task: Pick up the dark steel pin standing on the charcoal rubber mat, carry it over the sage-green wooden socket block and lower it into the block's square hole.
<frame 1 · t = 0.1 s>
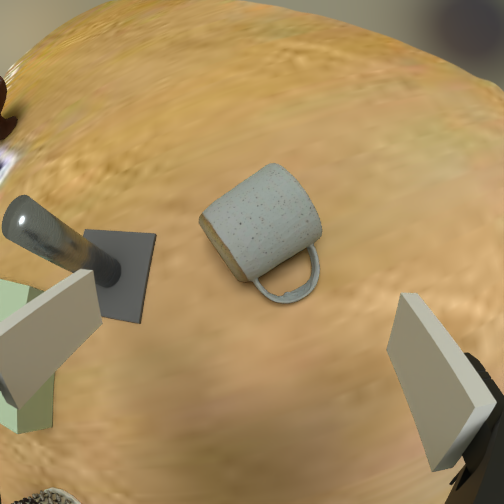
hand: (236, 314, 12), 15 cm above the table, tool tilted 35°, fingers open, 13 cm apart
ice cream bowl: (7, 129, 40), on the table
mat: (109, 273, 30), on the table
ceramic mug: (271, 250, 29), on the table
pin: (108, 272, 29), resting on mat
socket block: (13, 348, 27), on the table
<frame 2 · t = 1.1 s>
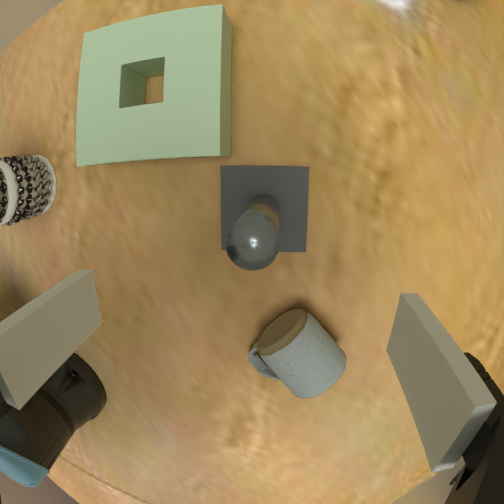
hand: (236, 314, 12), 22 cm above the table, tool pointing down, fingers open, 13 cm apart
mat: (264, 208, 33), on the table
ceramic mug: (291, 341, 37), on the table
pin: (264, 209, 32), resting on mat
socket block: (163, 93, 30), on the table
decorative candle: (37, 184, 34), on the table
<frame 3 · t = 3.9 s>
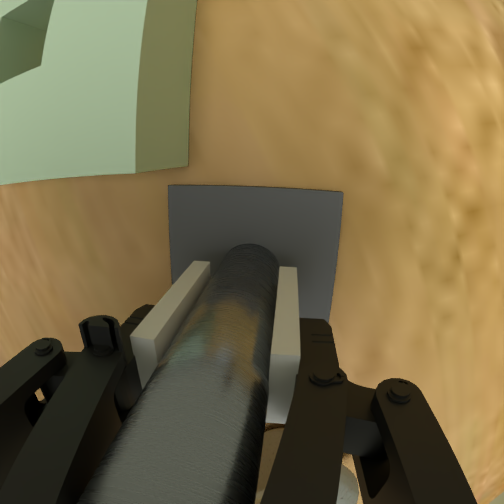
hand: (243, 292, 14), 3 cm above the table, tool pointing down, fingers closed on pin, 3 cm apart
mat: (251, 269, 17), on the table
ceramic mug: (282, 453, 22), on the table
pin: (250, 272, 17), resting on mat, touching gripper
socket block: (82, 58, 14), on the table
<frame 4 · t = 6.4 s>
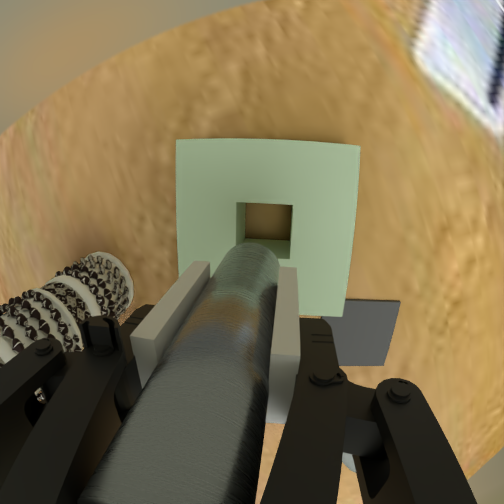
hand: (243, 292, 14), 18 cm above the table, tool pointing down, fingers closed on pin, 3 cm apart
mat: (356, 333, 34), on the table
pin: (250, 271, 17), point 15 cm above the table, touching gripper
socket block: (268, 217, 31), on the table
decorative candle: (106, 282, 36), on the table
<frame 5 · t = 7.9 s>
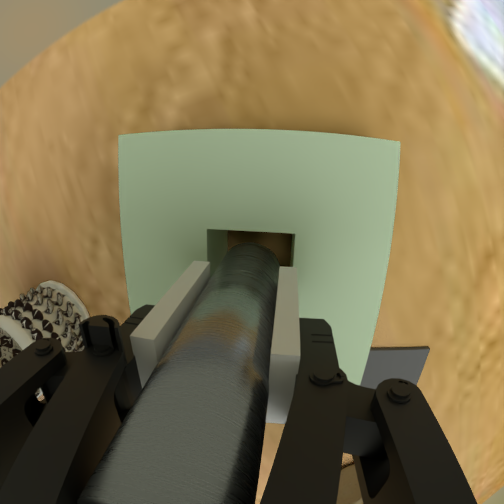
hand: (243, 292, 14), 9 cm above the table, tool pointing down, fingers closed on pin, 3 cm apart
mat: (372, 386, 25), on the table
ceramic mug: (351, 476, 30), on the table
pin: (250, 271, 17), point 6 cm above the table, touching gripper
socket block: (259, 243, 22), on the table
decorative candle: (62, 316, 27), on the table
when the fingers open (7 cm above the table, at t = 8.8 s): pin drops 4 cm, resting in socket block.
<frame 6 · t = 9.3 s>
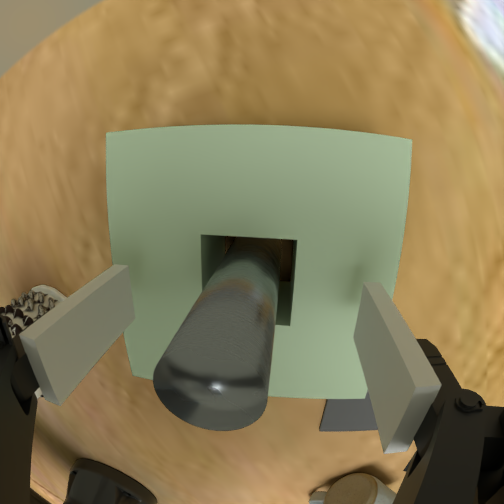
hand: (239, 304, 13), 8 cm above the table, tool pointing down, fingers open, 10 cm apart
mat: (376, 396, 24), on the table
ceramic mug: (350, 485, 29), on the table
pin: (258, 247, 21), resting in socket block
socket block: (258, 247, 21), on the table
decorative candle: (55, 321, 26), on the table
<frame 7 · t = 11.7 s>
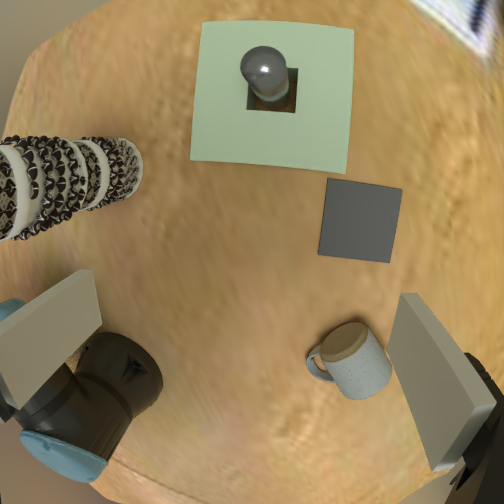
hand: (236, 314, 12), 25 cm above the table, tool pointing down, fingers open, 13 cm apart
mat: (360, 221, 35), on the table
ceramic mug: (343, 349, 41), on the table
pin: (276, 99, 32), resting in socket block
socket block: (276, 99, 32), on the table
decorative candle: (116, 168, 37), on the table
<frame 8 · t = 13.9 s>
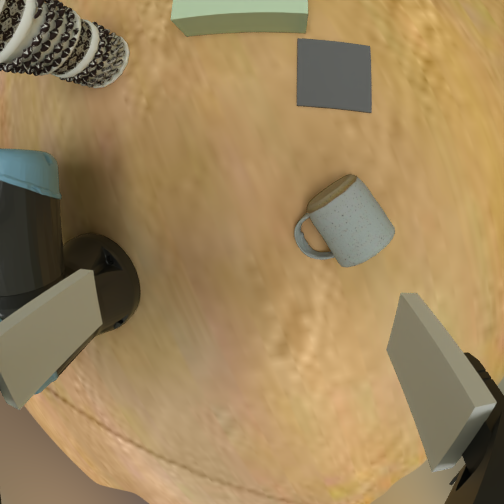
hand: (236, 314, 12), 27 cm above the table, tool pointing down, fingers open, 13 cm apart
mat: (334, 74, 32), on the table
ceramic mug: (336, 221, 37), on the table
decorative candle: (105, 61, 34), on the table
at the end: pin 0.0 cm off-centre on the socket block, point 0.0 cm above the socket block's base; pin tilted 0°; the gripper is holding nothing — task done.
